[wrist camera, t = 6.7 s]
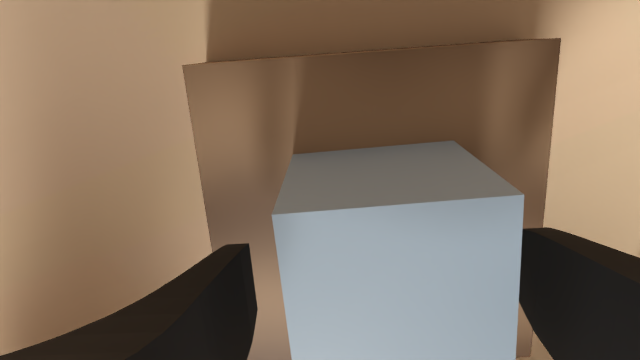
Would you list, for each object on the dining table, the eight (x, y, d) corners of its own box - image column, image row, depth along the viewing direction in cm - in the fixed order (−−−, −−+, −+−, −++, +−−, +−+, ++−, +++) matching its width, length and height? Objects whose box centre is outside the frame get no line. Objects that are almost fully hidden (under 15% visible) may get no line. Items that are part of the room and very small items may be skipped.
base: (503, 315, 18) (530, 356, 15) (244, 326, 18) (231, 368, 16) (522, 39, 14) (560, 38, 12) (205, 62, 15) (182, 65, 13)
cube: (453, 282, 15) (513, 398, 10) (308, 292, 15) (298, 410, 10) (453, 140, 13) (524, 194, 8) (292, 154, 13) (271, 214, 9)
